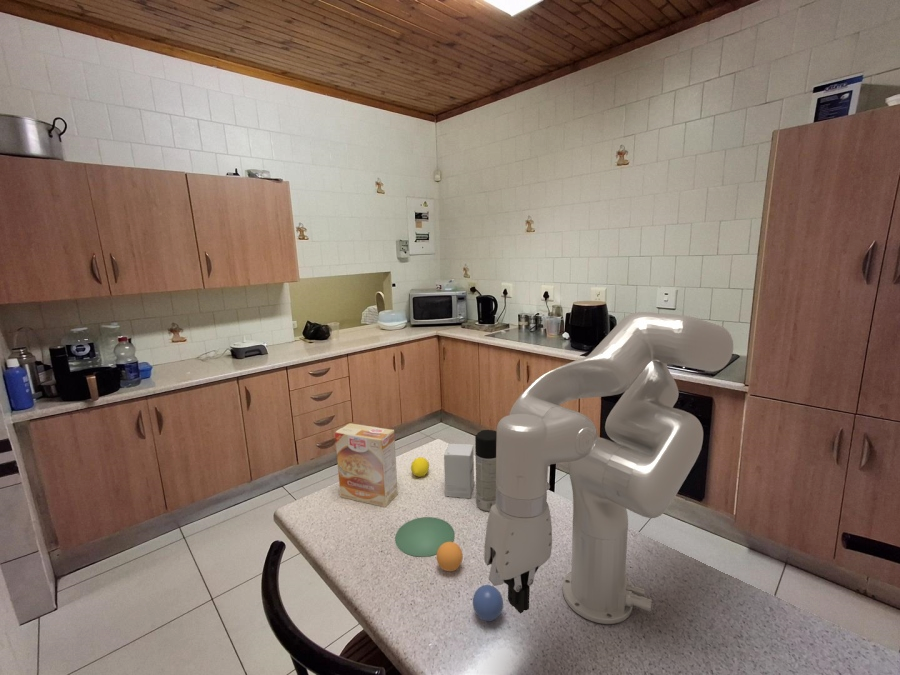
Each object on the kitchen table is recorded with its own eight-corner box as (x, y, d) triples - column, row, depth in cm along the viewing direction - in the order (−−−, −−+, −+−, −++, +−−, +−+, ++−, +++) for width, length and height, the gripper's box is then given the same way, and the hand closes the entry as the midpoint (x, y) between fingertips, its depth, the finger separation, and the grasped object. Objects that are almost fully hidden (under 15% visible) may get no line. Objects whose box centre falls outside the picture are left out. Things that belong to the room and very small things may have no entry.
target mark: (464, 527, 100) (464, 526, 100) (436, 564, 88) (436, 563, 88) (415, 512, 106) (415, 511, 106) (383, 545, 94) (383, 544, 94)
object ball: (467, 563, 88) (466, 540, 87) (455, 581, 83) (454, 557, 82) (444, 555, 90) (443, 533, 89) (432, 572, 85) (431, 548, 84)
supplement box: (471, 499, 111) (470, 456, 109) (444, 496, 113) (443, 454, 111) (474, 484, 118) (474, 444, 116) (449, 482, 120) (448, 442, 118)
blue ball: (507, 609, 76) (507, 583, 75) (496, 633, 71) (496, 606, 70) (480, 599, 78) (479, 574, 77) (468, 621, 73) (467, 595, 72)
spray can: (505, 502, 109) (505, 432, 106) (494, 515, 104) (493, 441, 100) (483, 495, 113) (482, 427, 109) (471, 507, 107) (470, 436, 104)
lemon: (424, 482, 121) (422, 467, 120) (408, 479, 123) (406, 464, 122) (433, 468, 128) (431, 453, 126) (417, 466, 130) (416, 451, 128)
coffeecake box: (339, 497, 114) (333, 431, 111) (354, 484, 121) (349, 422, 117) (385, 508, 108) (381, 439, 105) (398, 494, 115) (395, 428, 111)
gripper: (541, 474, 68) (538, 572, 71) (465, 499, 61) (465, 608, 64) (575, 495, 62) (570, 602, 65) (495, 526, 54) (493, 645, 57)
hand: (518, 605), depth 64 cm, fingers closed
